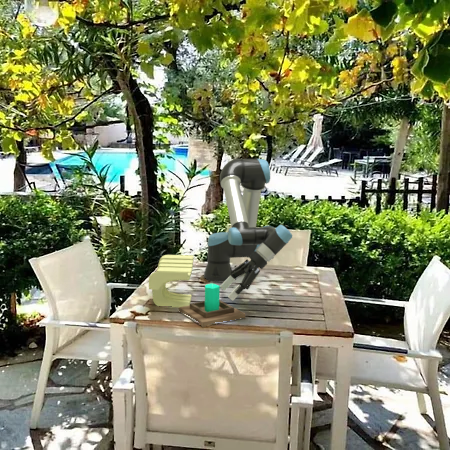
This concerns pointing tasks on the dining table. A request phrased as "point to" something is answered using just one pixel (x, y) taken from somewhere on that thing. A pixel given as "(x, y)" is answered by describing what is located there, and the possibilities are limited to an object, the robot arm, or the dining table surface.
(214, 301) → the candle
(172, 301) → the slatted curved stool
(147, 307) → the dining table surface
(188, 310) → the brown square tray
